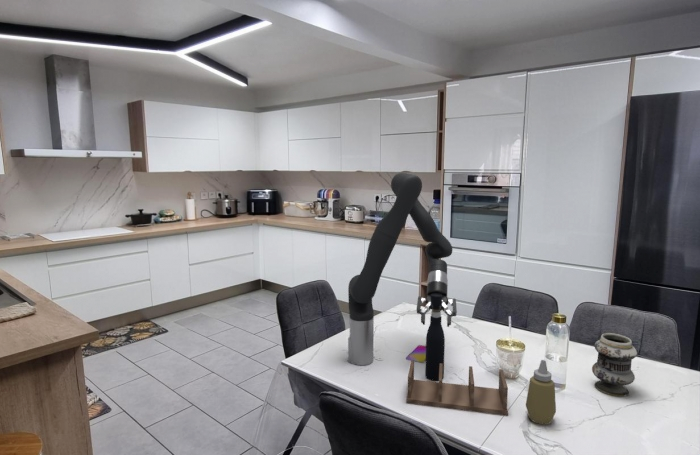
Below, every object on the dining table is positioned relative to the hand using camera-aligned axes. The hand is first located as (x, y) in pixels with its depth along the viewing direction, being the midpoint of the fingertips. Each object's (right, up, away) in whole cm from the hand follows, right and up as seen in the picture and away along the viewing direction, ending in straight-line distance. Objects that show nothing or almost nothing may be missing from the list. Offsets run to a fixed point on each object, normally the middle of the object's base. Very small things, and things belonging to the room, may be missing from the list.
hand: (435, 324), depth 146 cm
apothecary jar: (+57, -20, -9) cm, 61 cm away
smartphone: (-2, -17, +19) cm, 25 cm away
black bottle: (-1, -19, 0) cm, 19 cm away
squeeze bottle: (+25, -22, -26) cm, 42 cm away
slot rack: (+3, -20, -14) cm, 25 cm away
